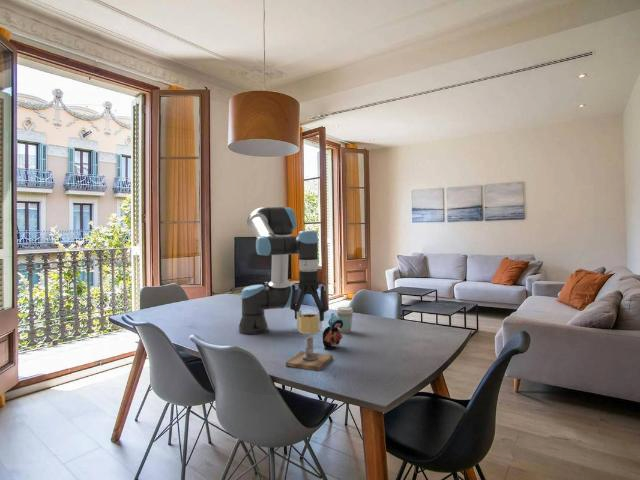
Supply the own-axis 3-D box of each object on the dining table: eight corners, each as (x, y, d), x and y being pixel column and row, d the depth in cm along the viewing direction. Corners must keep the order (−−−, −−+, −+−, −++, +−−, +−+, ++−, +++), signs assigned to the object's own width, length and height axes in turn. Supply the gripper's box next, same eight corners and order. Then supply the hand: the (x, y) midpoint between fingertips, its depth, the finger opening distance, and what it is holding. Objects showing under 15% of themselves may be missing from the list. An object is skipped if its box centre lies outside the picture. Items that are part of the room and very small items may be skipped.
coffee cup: (352, 334, 185) (352, 310, 185) (335, 333, 187) (335, 309, 186) (354, 329, 193) (354, 306, 193) (338, 329, 195) (337, 306, 195)
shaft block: (285, 366, 142) (285, 341, 142) (300, 354, 155) (300, 332, 155) (320, 370, 137) (319, 345, 137) (332, 358, 150) (332, 335, 150)
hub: (295, 332, 143) (295, 317, 143) (304, 327, 151) (304, 313, 151) (315, 334, 141) (314, 318, 140) (322, 329, 148) (322, 314, 148)
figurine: (332, 352, 158) (331, 317, 157) (319, 349, 162) (319, 314, 162) (346, 346, 165) (346, 313, 165) (334, 343, 170) (334, 311, 170)
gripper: (280, 270, 146) (281, 328, 146) (330, 271, 138) (331, 333, 138) (288, 268, 153) (289, 324, 153) (336, 270, 145) (337, 328, 145)
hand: (309, 328), depth 146 cm, fingers closed on hub, 8 cm apart
